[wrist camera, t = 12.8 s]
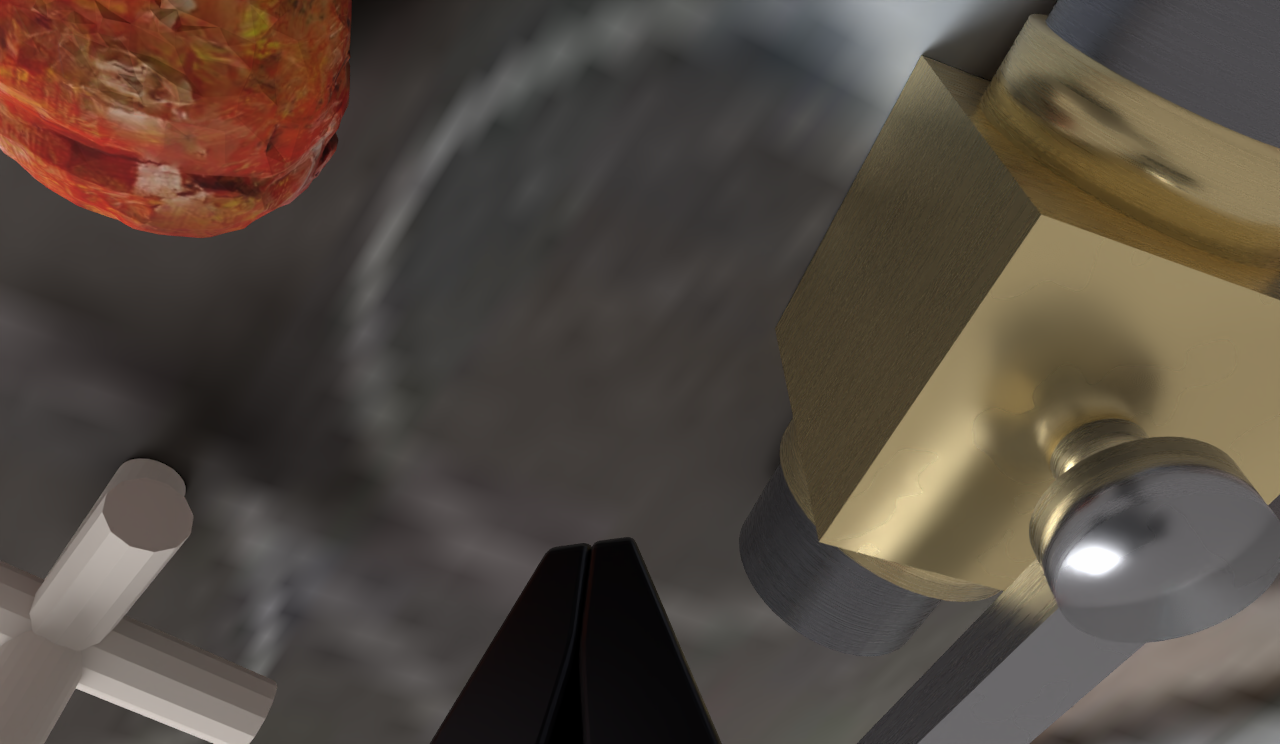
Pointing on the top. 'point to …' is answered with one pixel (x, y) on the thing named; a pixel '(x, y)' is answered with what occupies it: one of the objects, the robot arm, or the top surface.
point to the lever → (1098, 590)
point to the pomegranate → (174, 104)
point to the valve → (1026, 307)
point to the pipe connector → (117, 626)
